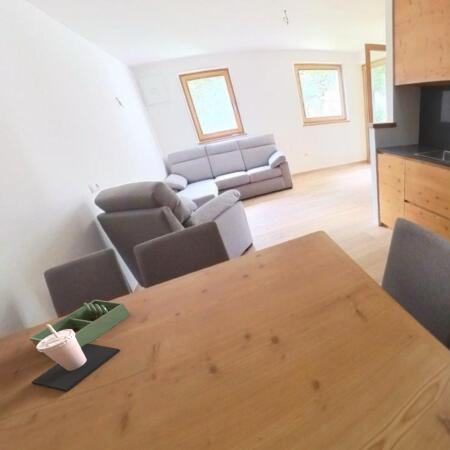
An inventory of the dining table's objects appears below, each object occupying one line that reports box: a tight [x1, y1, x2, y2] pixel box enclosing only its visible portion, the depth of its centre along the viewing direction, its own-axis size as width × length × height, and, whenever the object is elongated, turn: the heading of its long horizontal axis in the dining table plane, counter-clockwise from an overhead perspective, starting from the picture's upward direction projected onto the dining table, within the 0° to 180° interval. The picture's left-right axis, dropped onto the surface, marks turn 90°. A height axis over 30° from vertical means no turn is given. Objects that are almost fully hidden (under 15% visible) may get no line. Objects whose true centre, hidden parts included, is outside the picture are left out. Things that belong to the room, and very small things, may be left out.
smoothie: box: [35, 323, 87, 371], centre depth 71 cm, size 6×6×14 cm
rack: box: [28, 299, 131, 348], centre depth 84 cm, size 12×16×7 cm
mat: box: [31, 343, 121, 393], centre depth 74 cm, size 12×12×1 cm
